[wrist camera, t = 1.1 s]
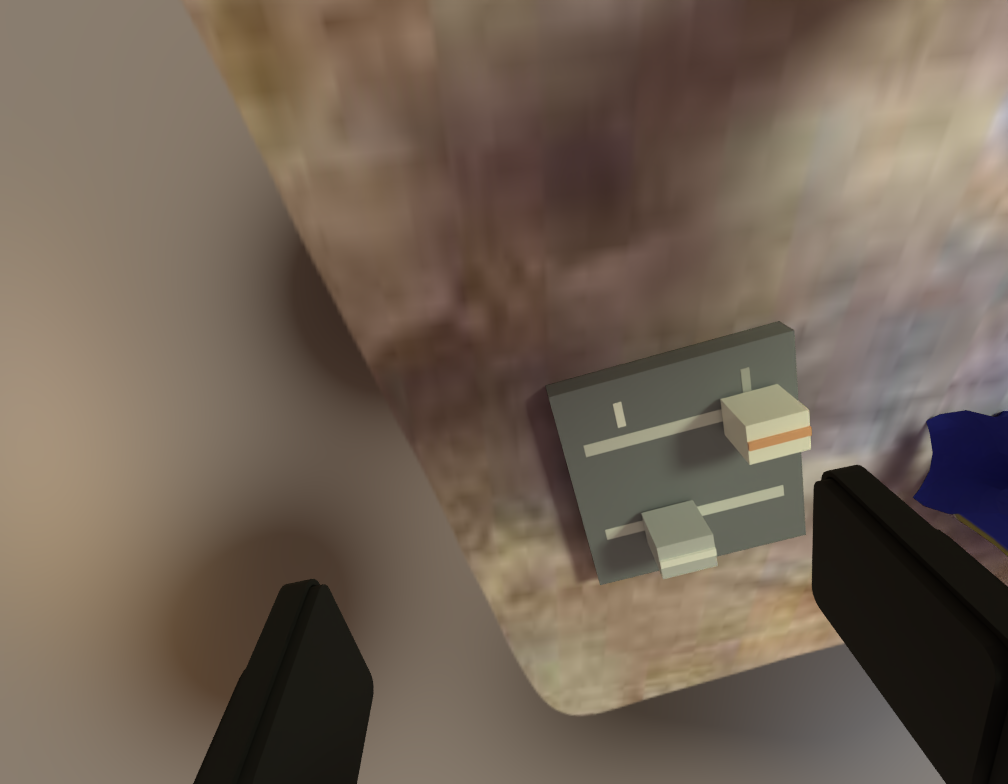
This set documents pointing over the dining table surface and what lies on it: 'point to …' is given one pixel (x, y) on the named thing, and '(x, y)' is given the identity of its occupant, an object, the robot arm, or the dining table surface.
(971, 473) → the bread
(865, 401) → the dining table surface
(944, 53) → the dining table surface
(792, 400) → the fader
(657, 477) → the console
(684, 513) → the fader
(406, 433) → the dining table surface
